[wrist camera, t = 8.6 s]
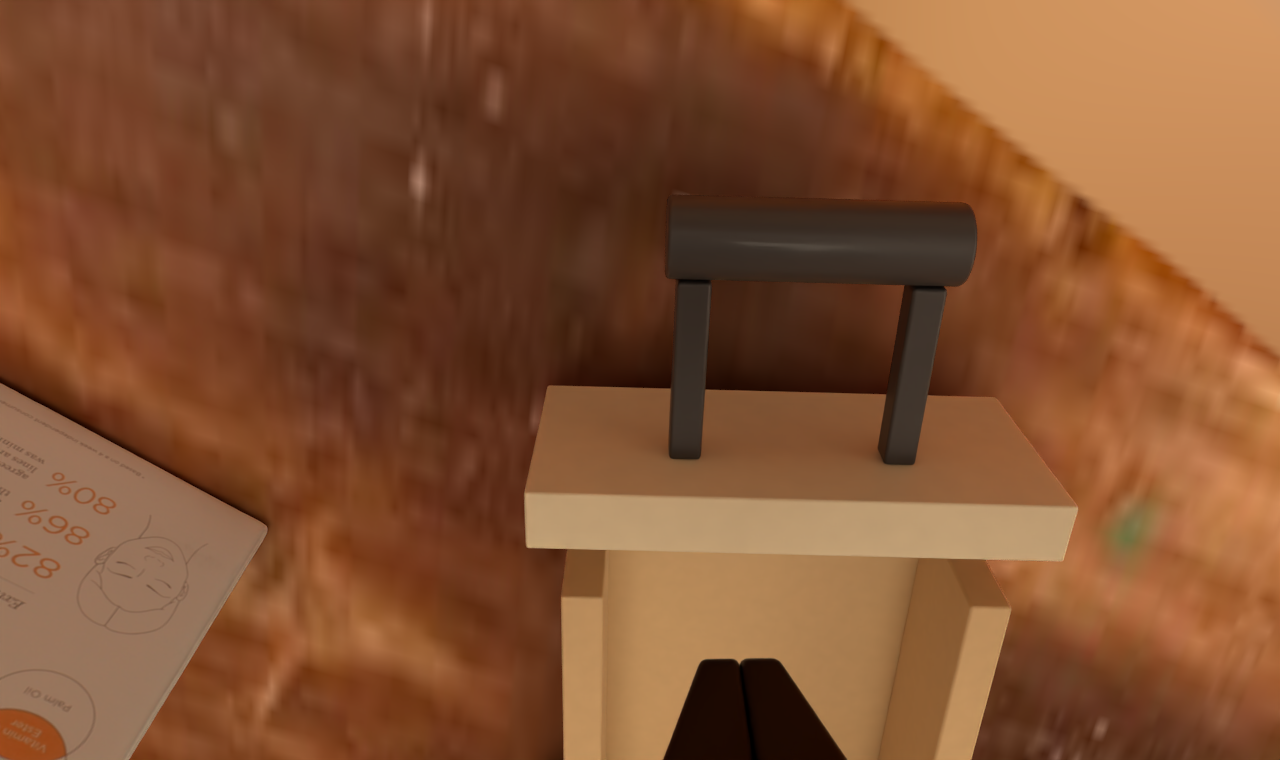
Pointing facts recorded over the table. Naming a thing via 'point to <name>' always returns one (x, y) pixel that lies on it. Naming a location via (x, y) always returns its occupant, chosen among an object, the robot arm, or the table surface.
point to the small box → (100, 585)
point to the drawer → (791, 504)
